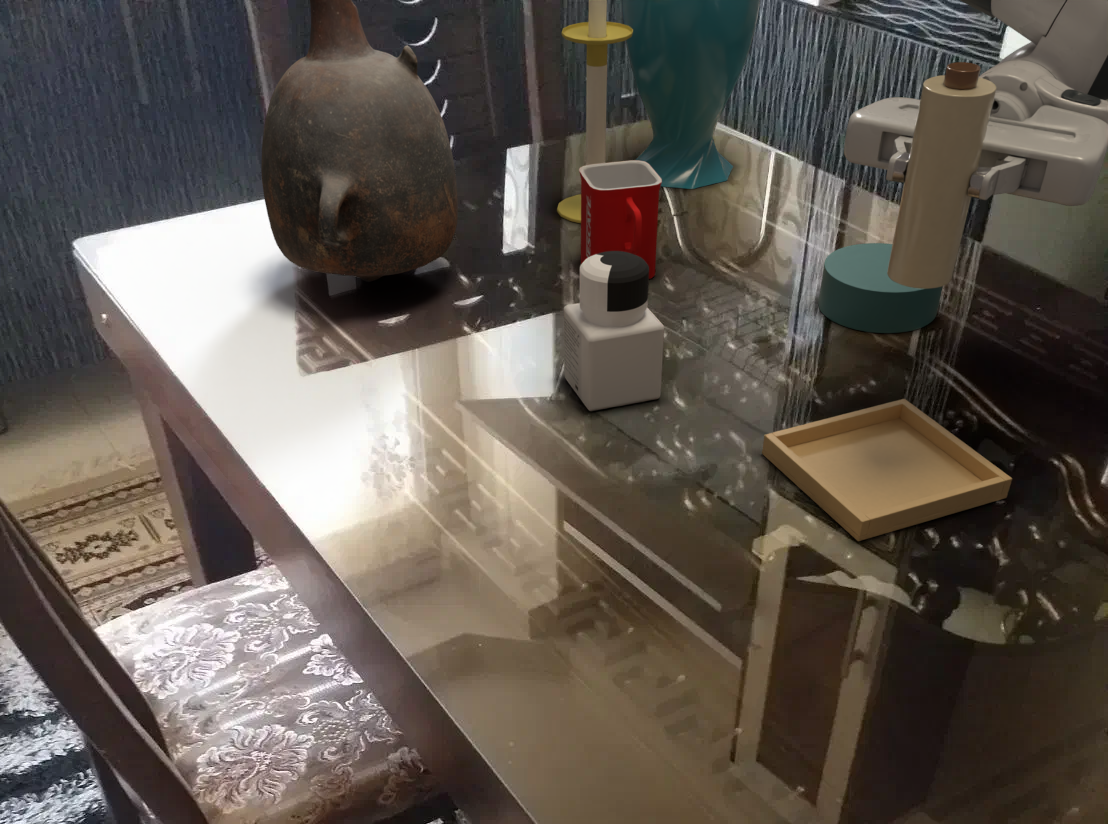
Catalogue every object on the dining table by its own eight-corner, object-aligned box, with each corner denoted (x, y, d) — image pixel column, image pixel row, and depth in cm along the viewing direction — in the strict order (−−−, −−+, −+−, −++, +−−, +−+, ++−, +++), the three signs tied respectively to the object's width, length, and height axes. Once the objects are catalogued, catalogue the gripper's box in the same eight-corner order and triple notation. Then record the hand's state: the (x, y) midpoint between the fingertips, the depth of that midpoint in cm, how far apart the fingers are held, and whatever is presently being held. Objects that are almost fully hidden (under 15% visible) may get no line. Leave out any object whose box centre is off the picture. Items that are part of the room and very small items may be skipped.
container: (633, 365, 120) (637, 238, 110) (661, 399, 115) (669, 269, 105) (563, 377, 118) (562, 250, 109) (588, 413, 113) (589, 282, 104)
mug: (575, 259, 139) (575, 165, 131) (641, 252, 140) (645, 159, 133) (600, 301, 131) (602, 203, 123) (670, 293, 132) (675, 196, 124)
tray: (900, 417, 111) (904, 398, 110) (1006, 498, 101) (1012, 478, 100) (761, 453, 107) (764, 434, 106) (858, 541, 97) (862, 521, 96)
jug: (490, 306, 130) (473, -2, 109) (303, 339, 125) (248, 22, 104) (430, 228, 146) (406, -54, 125) (263, 254, 142) (208, -34, 120)
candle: (648, 207, 150) (664, -154, 124) (600, 230, 145) (607, -141, 118) (589, 189, 155) (592, -162, 128) (541, 212, 150) (534, -150, 123)
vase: (662, 201, 152) (677, -75, 130) (595, 162, 162) (599, -98, 141) (768, 176, 157) (798, -92, 136) (696, 140, 168) (714, -113, 147)
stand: (890, 274, 134) (898, 235, 131) (961, 318, 126) (971, 278, 123) (795, 295, 131) (801, 255, 128) (861, 342, 122) (869, 301, 119)
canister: (926, 257, 96) (970, 52, 86) (965, 281, 93) (1016, 71, 82) (874, 269, 95) (912, 62, 84) (912, 293, 92) (956, 81, 81)
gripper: (889, 67, 98) (818, 112, 90) (1136, 106, 89) (1082, 159, 82) (875, 146, 102) (807, 196, 95) (1110, 191, 94) (1056, 249, 86)
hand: (936, 179), depth 88 cm, fingers closed on canister, 5 cm apart
